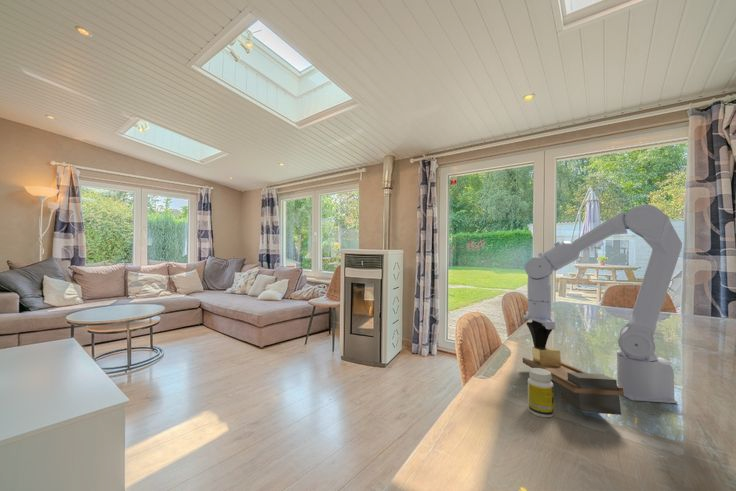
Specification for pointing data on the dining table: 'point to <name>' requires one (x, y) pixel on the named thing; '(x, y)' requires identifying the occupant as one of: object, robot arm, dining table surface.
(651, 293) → the robot arm
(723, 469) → the dining table surface
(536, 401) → the supplement bottle
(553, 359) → the block
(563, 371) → the beam
